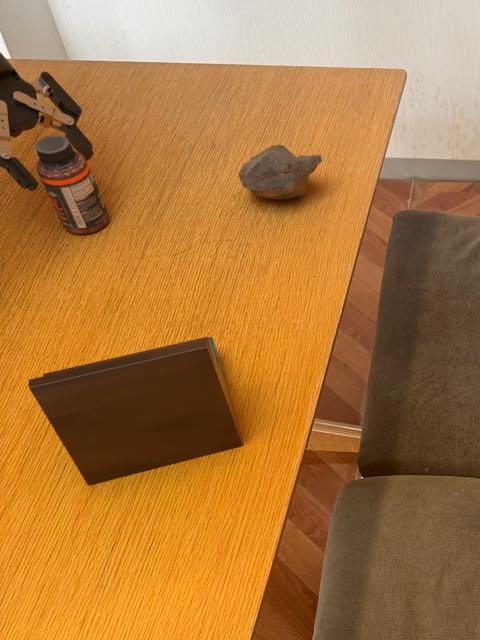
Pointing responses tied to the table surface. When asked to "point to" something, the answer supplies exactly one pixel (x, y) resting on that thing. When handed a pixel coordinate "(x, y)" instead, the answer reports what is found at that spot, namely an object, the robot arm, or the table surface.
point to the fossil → (278, 173)
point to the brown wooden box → (140, 409)
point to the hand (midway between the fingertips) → (63, 172)
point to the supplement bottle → (70, 186)
